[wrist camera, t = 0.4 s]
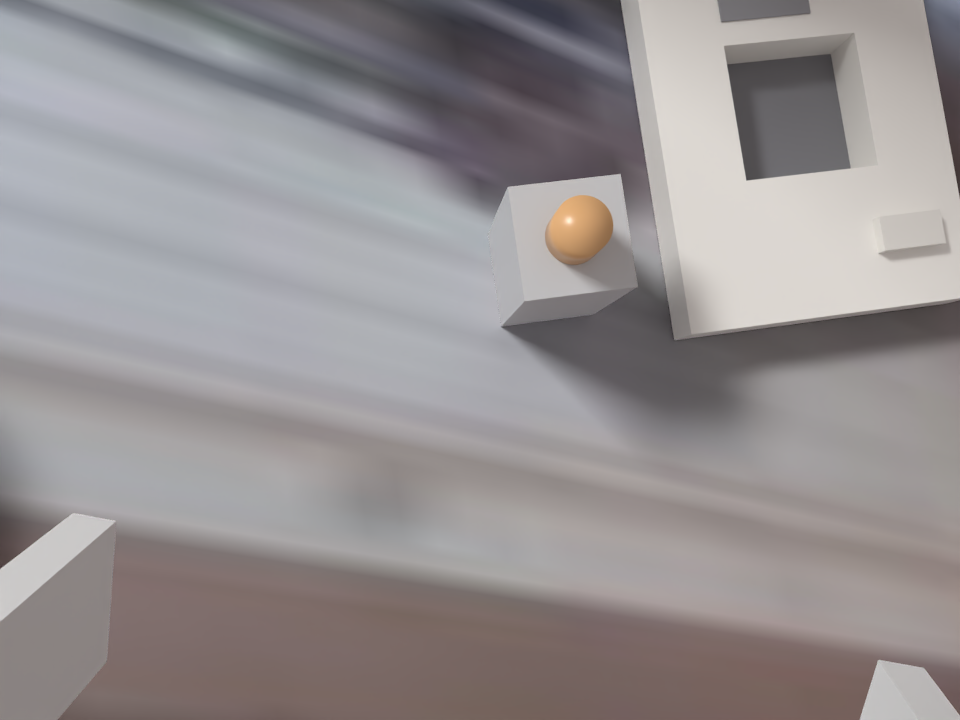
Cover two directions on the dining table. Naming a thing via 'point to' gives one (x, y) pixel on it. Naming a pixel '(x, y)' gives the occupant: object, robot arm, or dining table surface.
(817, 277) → the socket plate
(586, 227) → the egg topped pedestal
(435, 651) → the dining table surface
